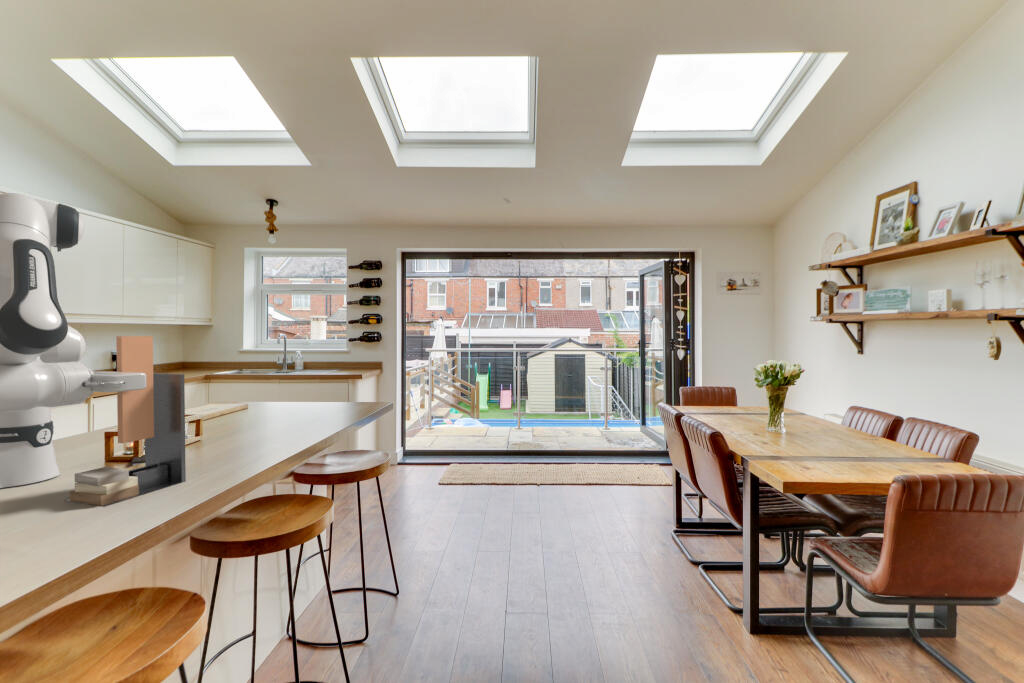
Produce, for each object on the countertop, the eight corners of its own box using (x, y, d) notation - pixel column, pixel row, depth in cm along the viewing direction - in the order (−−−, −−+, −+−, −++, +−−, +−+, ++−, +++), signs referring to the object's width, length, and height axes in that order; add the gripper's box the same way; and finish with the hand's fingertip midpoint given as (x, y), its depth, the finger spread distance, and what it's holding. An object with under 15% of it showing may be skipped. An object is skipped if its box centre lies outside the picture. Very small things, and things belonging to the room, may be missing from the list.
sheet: (123, 443, 110) (121, 336, 110) (117, 442, 111) (116, 336, 110) (154, 437, 117) (152, 336, 116) (149, 436, 117) (147, 336, 117)
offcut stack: (101, 505, 102) (101, 479, 102) (70, 500, 105) (69, 474, 105) (139, 493, 110) (139, 469, 110) (109, 489, 113) (109, 465, 113)
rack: (104, 513, 102) (102, 381, 101) (65, 507, 106) (63, 379, 105) (185, 487, 119) (184, 374, 118) (149, 482, 123) (148, 372, 122)
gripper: (103, 369, 97) (170, 364, 111) (34, 367, 103) (106, 363, 117) (103, 401, 97) (170, 392, 111) (35, 396, 104) (106, 389, 117)
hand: (137, 377), depth 114 cm, fingers closed on sheet, 2 cm apart
